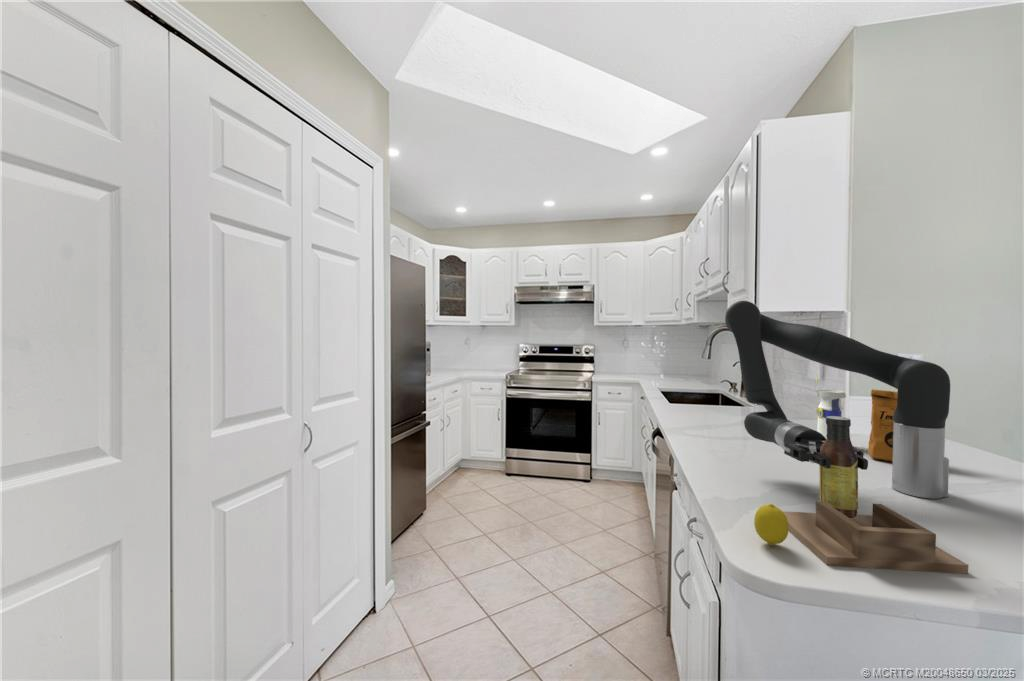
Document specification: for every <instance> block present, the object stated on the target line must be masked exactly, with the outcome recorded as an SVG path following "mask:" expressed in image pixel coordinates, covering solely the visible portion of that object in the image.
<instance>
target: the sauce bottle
mask: <svg viewBox="0 0 1024 681" xmlns="http://www.w3.org/2000/svg"><path fill="white" fill-rule="evenodd" d="M826 424H827V435H826V436H827V439H826V441H825V442H824V443H823V444H822V446H821V448H820V453H821V454H823V455H825V456H827V457H829V458H830V468H824V467H822V466H820V465H819V501H824V502H826V503H827V504H829V505H830V506H832V507H833V508H835V509H836V510H838V511H839V512H841V513H842V514H844V515H845V516H847V517H848V518H853V517H856V515H858V509H859V473H858V472H859V470H858V469H859V468H858V458H857V455H856V453H855V450H854V448H853V447H854V446H853V444H852V440H851V437H850V436H851V433H850V430H851V429H850V427H851V425H852V424H851V418H849V417H844V416H841V417H839V416H827V417H826Z"/></svg>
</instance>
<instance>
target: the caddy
mask: <svg viewBox="0 0 1024 681" xmlns="http://www.w3.org/2000/svg"><path fill="white" fill-rule="evenodd" d="M782 511H783V510H782ZM783 513H784V514H785V516H786V518H787V521H788V533H790V534H792V536H794V537H795V538H796V539H797V540H798V541H799V542H800V543H802V544H803V545H804V546H805V547H806V548H807V549H808V550H809V551H810V552H811V553H813V554H814V555H815V556H816V557H817V558H818V559H819V560H821V561H822V562H823V563H824V564H825V565H826V566H833V567H834V566H836V567H837V566H838V567H850V568H851V567H852V568H853V567H854V568H855V567H856V568H866V569H867V568H868V569H869V568H870V569H883V570H885V569H887V570H901V571H904V570H905V571H917V572H918V571H920V572H933V573H947V574H949V573H950V574H952V573H953V574H965V575H966V574H967V575H968V574H969V564H967V563H966V562H964V561H962V560H961V559H959V558H958V557H955V556H954V555H952V554H951V553H948V552H946V550H944V549H942V548H940V547H938V546H937V542H936V541H937V534H936V533H934V532H933V531H931V530H929V529H927V528H926V527H924V526H922V525H920V524H918V523H916V522H914V521H913V520H911V519H909V518H907V517H906V516H903V515H902V514H900V513H898V512H897V511H895V510H893V509H891V508H889V507H887V506H885V505H884V504H882V503H872V515H869V514H868V515H867V514H866V515H865V514H857V515H856V517H853V518H848V517H847V516H845V515H844V514H842V513H841V512H839V511H838V510H836V509H835V508H833V507H832V506H830V505H829V504H827V503H826V502H824V501H820V500H815V512H808V511H807V512H804V511H803V512H802V511H800V512H799V511H786V510H785V511H783Z"/></svg>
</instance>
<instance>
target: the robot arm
mask: <svg viewBox="0 0 1024 681" xmlns="http://www.w3.org/2000/svg"><path fill="white" fill-rule="evenodd" d="M724 316H725V318H724V322H725V327H726V328H727V329H728V330H729V331H730V332H731V333H732V334H733V337H734V339H735V343H736V347H737V350H738V351H737V352H738V356H739V366H740V373H741V379H742V380H741V381H742V384H743V391H744V394H745V399H746V401H747V402H748V403H749V404H753V405H760V406H763V407H764V408H765V409H766V411H757V412H754V411H753V412H750V413H748V414H747V415H746V416H745V418H744V421H743V425H744V429H745V430H746V432H747V434H748V435H750V437H752V438H754V439H757V440H759V441H764V442H767V443H773V444H775V445H777V446H778V447H780V448H781V449H782V450H783V454H784V455H786V456H789V457H791V458H792V459H795V460H797V461H799V462H802V463H803V462H807V463H811V464H817V465H818V466H819V467H820V466H822V467H824V468H830V458H829V457H827V456H825V455H823V454H821V453H820V448H821V446H822V444H823V443H824V442H825V441H826V439H825V437H824V436H823V435H822V434H821V433H819V432H817V430H815V429H813V428H810V427H808V426H806V425H803V424H801V423H797V422H794V421H791V420H789V419H788V418H787V416H786V414H785V412H784V410H783V409H782V407H781V405H780V403H779V402H778V399H777V397H776V396H775V392H774V388H773V384H772V379H771V376H770V372H769V368H768V364H767V361H766V358H765V354H764V348H763V342H764V343H767V344H770V345H773V346H775V347H778V348H780V349H782V350H784V351H787V352H789V353H792V354H794V355H797V356H799V357H803V358H804V359H807V360H810V361H813V362H815V363H819V364H821V365H825V366H827V367H831V368H834V369H838V370H843V371H846V372H852V373H856V374H860V375H864V376H867V377H870V378H873V379H874V380H877V381H879V382H880V383H881V382H882V383H884V384H885V385H887V386H891V387H893V388H895V389H896V390H897V392H898V394H897V407H896V410H895V411H894V418H893V421H894V422H893V462H891V463H892V468H891V469H892V471H891V475H892V476H891V487H892V489H893V490H895V491H897V492H899V493H903V494H904V495H905V494H906V495H909V496H912V497H913V496H914V497H918V498H923V499H931V500H932V499H934V500H936V499H937V500H938V499H943V498H948V497H949V477H950V476H949V472H950V470H949V469H950V460H949V458H948V457H945V444H946V442H945V441H946V421H947V418H948V417H949V414H950V402H951V379H950V376H949V374H948V372H947V371H946V369H945V368H943V367H942V366H940V365H939V364H936V363H934V362H929V361H926V360H925V361H924V360H920V359H915V358H908V357H904V356H900V355H896V354H892V353H889V352H886V351H885V352H884V351H881V350H878V349H876V348H873V347H871V346H868V345H867V344H864V343H862V342H860V341H858V340H856V339H853V338H851V337H849V336H847V335H844V334H841V333H839V332H836V331H832V330H828V329H826V328H822V327H819V326H814V325H808V324H801V323H793V322H786V321H781V320H778V319H775V318H772V317H769V316H766V315H764V314H762V313H761V311H760V309H759V307H758V306H757V305H756V304H755V303H753V302H751V301H748V300H738V301H736V302H734V303H732V304H731V305H730V306H729V307H728V308H727V310H726V312H725V315H724ZM853 448H854V450H855V453H856V455H857V458H858V469H860V470H862V471H863V470H865V471H867V470H868V468H869V460H868V459H867V458H865V457H864V453H865V452H864V451H863V450H860V449H859V448H858V447H855V446H853Z"/></svg>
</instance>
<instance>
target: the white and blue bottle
mask: <svg viewBox="0 0 1024 681" xmlns="http://www.w3.org/2000/svg"><path fill="white" fill-rule="evenodd" d="M818 376H819V375H818V373H817V374H816V376H815V384H818V379H819V378H818ZM816 393H817V398H819V399H820V402H819V405H818V406H817V407H818V408H817V409H816V416H817V425H816V426H817V430H816V431H817V432H819V433H821V434H822V435H823V436H824V437H825V439H827V436H826V435H827V424H826V417H827V416H839V417H842V412H843V410H844V408H843V407H842V399H844V398H845V399H846V398H847V394H846V392H845V391H843V390H836V389H817V390H816Z"/></svg>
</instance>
